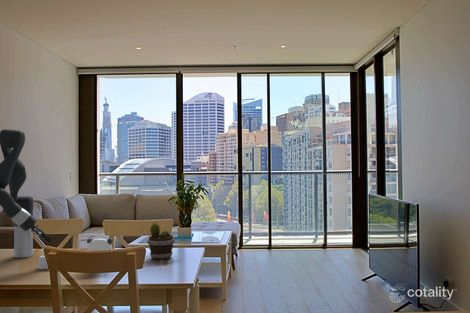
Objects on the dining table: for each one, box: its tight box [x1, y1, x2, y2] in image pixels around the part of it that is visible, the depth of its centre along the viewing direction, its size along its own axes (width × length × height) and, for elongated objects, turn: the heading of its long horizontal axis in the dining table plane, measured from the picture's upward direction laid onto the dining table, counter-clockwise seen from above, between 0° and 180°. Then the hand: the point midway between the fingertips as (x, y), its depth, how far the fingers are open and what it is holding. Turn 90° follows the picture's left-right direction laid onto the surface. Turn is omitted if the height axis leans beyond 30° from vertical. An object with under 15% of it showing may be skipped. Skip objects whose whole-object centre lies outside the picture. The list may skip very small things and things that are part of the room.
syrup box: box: [37, 254, 48, 270], centre depth 214 cm, size 6×6×14 cm
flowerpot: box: [146, 221, 176, 261], centre depth 233 cm, size 14×15×20 cm
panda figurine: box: [86, 237, 114, 251], centre depth 208 cm, size 12×11×15 cm
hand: (50, 241), depth 217 cm, fingers closed
